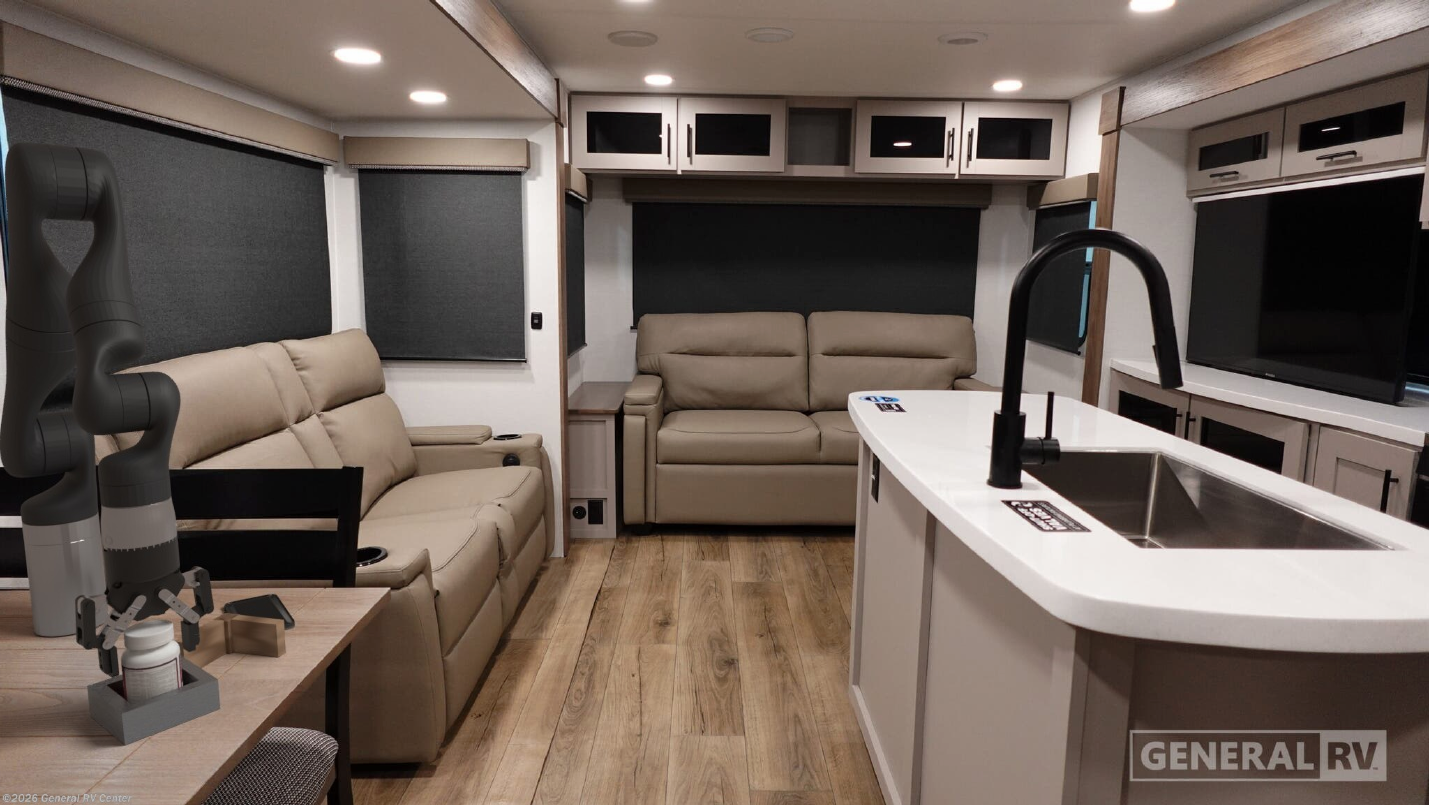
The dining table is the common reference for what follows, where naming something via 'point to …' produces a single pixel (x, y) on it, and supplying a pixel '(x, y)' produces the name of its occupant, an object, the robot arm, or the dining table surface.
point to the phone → (262, 609)
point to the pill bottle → (150, 660)
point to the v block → (237, 638)
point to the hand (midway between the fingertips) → (152, 662)
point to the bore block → (153, 705)
